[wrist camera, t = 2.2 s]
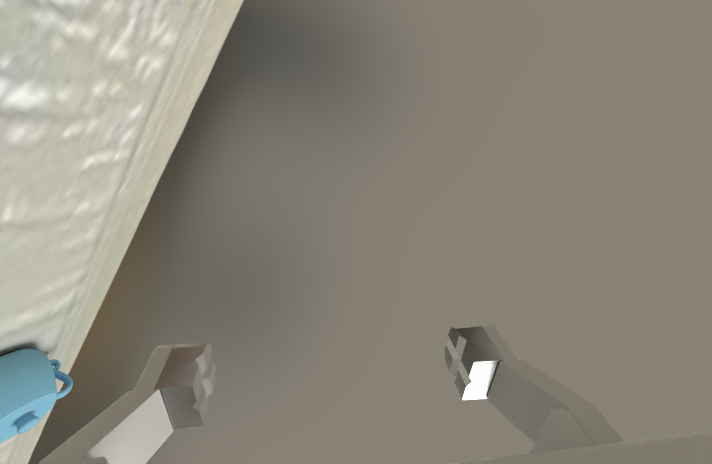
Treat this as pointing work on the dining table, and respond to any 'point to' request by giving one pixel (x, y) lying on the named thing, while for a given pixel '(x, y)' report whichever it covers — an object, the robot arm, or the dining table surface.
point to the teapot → (27, 390)
